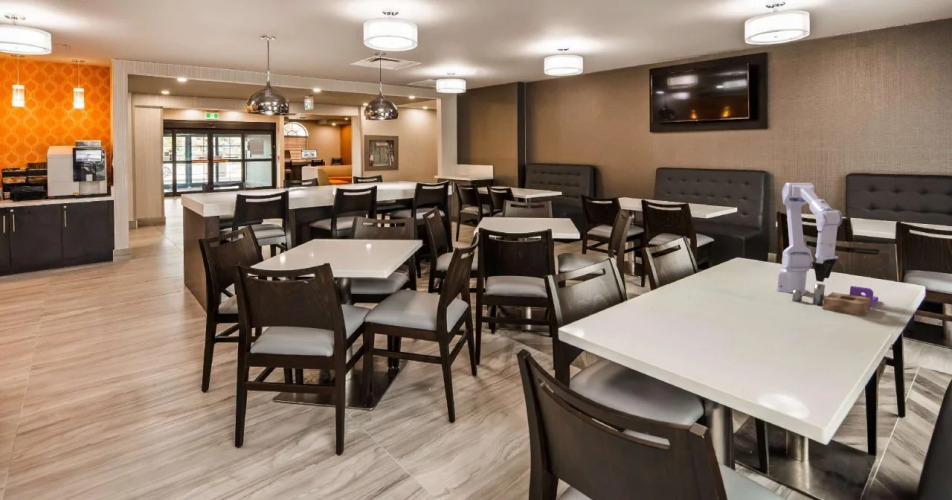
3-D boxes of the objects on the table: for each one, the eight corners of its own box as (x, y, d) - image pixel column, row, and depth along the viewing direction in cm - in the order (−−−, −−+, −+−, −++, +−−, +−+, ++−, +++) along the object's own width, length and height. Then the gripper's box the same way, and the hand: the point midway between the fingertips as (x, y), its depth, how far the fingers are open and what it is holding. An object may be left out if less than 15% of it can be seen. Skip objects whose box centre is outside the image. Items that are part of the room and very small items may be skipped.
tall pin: (811, 304, 205) (813, 284, 204) (814, 302, 207) (816, 283, 206) (821, 306, 203) (823, 286, 201) (823, 304, 205) (826, 284, 204)
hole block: (822, 309, 199) (823, 298, 198) (831, 302, 207) (832, 292, 206) (862, 315, 190) (863, 304, 190) (869, 308, 199) (871, 298, 198)
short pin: (791, 301, 210) (792, 290, 209) (793, 299, 212) (794, 289, 211) (800, 302, 208) (801, 292, 207) (802, 300, 210) (803, 290, 209)
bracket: (870, 308, 201) (872, 290, 199) (848, 304, 206) (850, 286, 204) (877, 301, 209) (880, 284, 208) (856, 298, 214) (858, 281, 212)
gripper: (834, 247, 193) (830, 284, 195) (843, 242, 203) (839, 277, 206) (811, 244, 198) (807, 281, 200) (821, 240, 208) (818, 275, 211)
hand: (822, 279), depth 203 cm, fingers open, 7 cm apart
